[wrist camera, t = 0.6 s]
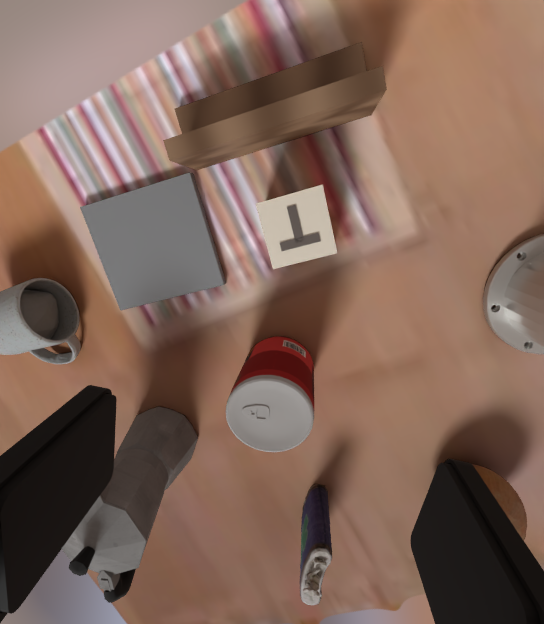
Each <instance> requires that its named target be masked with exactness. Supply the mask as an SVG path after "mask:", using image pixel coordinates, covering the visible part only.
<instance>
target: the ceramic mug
mask: <svg viewBox="0 0 544 624" xmlns="http://www.w3.org/2000/svg"><path fill="white" fill-rule="evenodd" d="M78 326H79V311H78V307H77V304H76V302H75V300H74V298H73V297H72V295H71V294H70V292H69V291H68V290H67V289H66V288H65V287H64V286H62V285H61V284H60V283H58V282H56V281H54V280H51V279H47V278H35V279H31V280H28V281H25V282H23V283H21V284H18V285H15V286H13V287H11V288H8V289H6V290H4V291H1V292H0V354H2V355H13V354H20V353H24V352H28V351H29V352H30V353H32V354H33V355H34V356H35V357H37V358H39V359H41V360H42V361H45V362H48V363H53V364H66V363H70V362H72V361H74V360H75V358H76V357H77V355H78V354H79V352H80V349H81V344H80V341H79V340H78V338H77V336H76V335H75V333H76V331H77V329H78ZM64 342H67V343H68V345H69V347H70V348H71V350H72V352H71V353H65V354H55V353H53V352H50V351H48V350H46V349H45V348H44V347H49V346H53V345H57V344H61V343H64Z"/></svg>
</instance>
